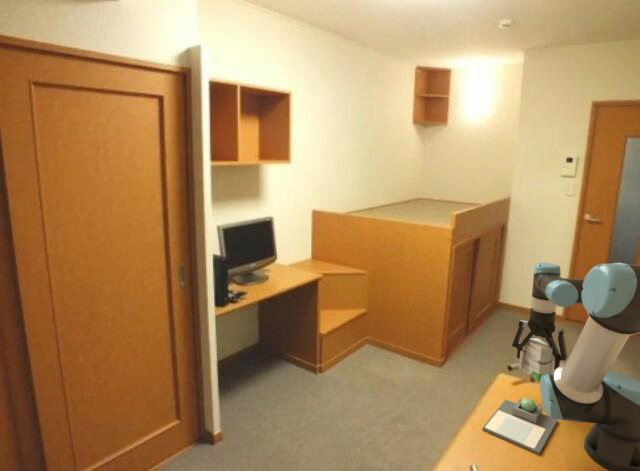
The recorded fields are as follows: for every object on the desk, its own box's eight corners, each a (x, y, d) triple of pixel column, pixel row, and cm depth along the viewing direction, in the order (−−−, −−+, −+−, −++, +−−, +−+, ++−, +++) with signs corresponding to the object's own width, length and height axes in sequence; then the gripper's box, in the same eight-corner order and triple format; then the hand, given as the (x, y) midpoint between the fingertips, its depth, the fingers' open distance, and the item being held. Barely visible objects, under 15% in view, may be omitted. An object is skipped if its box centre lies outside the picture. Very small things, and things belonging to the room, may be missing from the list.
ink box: (551, 381, 141) (555, 347, 139) (537, 382, 141) (541, 348, 139) (534, 368, 150) (538, 337, 148) (521, 369, 149) (525, 337, 147)
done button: (536, 408, 136) (537, 401, 135) (532, 414, 133) (533, 407, 133) (523, 403, 139) (523, 396, 138) (519, 409, 136) (519, 402, 135)
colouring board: (557, 421, 134) (558, 412, 133) (539, 455, 119) (540, 444, 119) (505, 401, 144) (506, 393, 144) (482, 430, 130) (483, 420, 129)
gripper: (583, 314, 137) (575, 379, 141) (512, 299, 151) (507, 358, 155) (578, 320, 131) (570, 388, 135) (505, 304, 146) (499, 365, 150)
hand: (536, 372), depth 145 cm, fingers closed on ink box, 9 cm apart
